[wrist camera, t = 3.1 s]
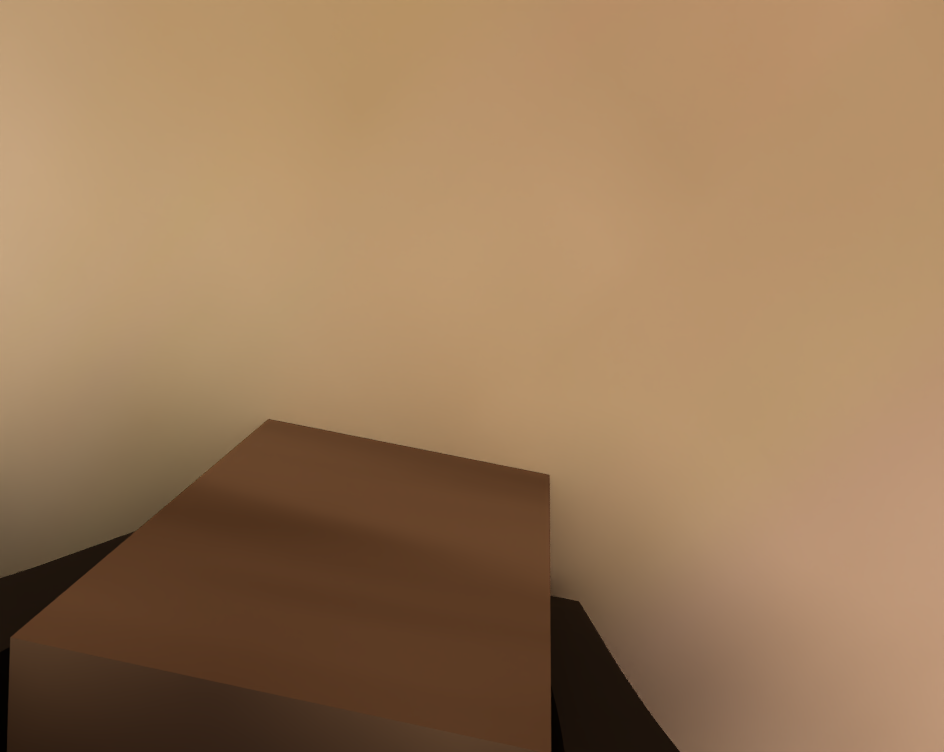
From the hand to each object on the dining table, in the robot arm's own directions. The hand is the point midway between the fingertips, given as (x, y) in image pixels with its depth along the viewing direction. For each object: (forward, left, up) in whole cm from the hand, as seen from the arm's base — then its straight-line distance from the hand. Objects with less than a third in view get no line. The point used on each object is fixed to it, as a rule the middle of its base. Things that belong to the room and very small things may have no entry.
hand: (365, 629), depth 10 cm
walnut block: (0, 0, -1) cm, 1 cm away
